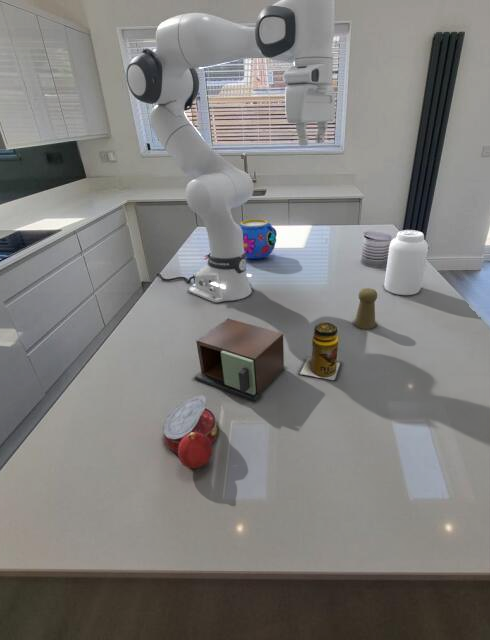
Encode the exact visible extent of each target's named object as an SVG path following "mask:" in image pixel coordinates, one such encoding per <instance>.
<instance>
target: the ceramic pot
mask: <svg viewBox="0 0 490 640" xmlns="http://www.w3.org/2000/svg"><path fill="white" fill-rule="evenodd" d="M238 225H239V226H240V227H241V228H242V231H243V244H244V252H245V254H246V259H247V258H248V259H251V260H259V259H264V258H266V257H268V256H270V255H271V253H273V251H274V249H275V246H276V243H277V235H278V234H277V229H276V228H274V227H273V226H272V224H271V223H270V222H269V221H267V220H265V219H259V218H258V219H255V218H254V219H246V220H243V221H241V222H240V223H239V224H238Z"/></svg>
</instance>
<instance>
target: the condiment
mask: <svg viewBox="0 0 490 640" xmlns="http://www.w3.org/2000/svg"><path fill="white" fill-rule="evenodd" d="M338 349H339V337H338V327H337V326H336V324H334V323H331V322H320V323H317V324H316V325H315V326H314V329H313V336H312V341H311V357H309V356H307V357H306V360H305V362H304V364H303V367H302V368H301V371H300V372H299V375H304V376H309V377H315V378H319V379H323V380H324V379H325V380H329V381H335V380H336V378H337V374H338V371H339V368H340V365H341V362H338Z"/></svg>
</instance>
